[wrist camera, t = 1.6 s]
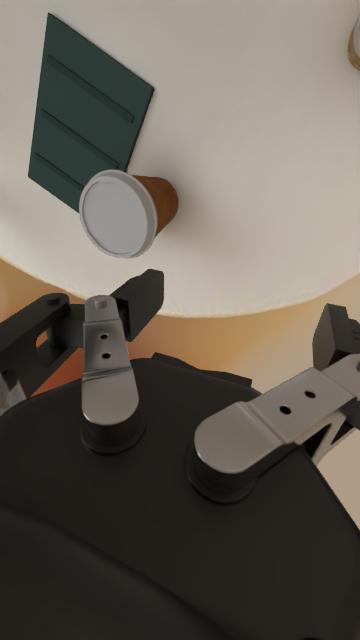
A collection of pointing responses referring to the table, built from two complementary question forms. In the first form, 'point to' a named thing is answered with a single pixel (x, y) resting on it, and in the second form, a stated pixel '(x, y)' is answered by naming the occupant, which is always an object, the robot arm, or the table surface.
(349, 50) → the sprinkles bottle
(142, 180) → the disposable coffee cup
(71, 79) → the mat
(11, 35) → the table surface
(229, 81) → the table surface
